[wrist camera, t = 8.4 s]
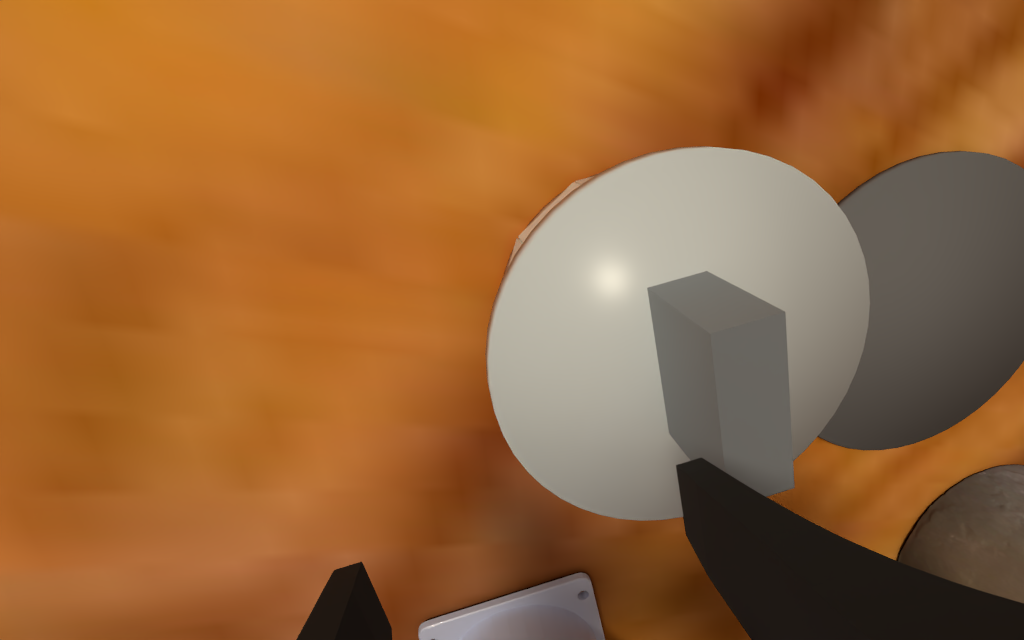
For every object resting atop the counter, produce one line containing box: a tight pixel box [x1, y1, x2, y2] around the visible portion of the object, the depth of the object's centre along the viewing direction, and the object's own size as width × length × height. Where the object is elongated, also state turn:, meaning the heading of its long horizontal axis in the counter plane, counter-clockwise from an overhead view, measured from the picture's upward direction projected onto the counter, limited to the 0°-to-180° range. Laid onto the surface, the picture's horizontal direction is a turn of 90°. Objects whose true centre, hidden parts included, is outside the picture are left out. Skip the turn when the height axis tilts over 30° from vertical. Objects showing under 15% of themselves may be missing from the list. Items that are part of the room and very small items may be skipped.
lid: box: [485, 146, 870, 520], centre depth 15 cm, size 12×12×4 cm
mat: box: [818, 151, 1024, 450], centre depth 23 cm, size 13×13×1 cm
